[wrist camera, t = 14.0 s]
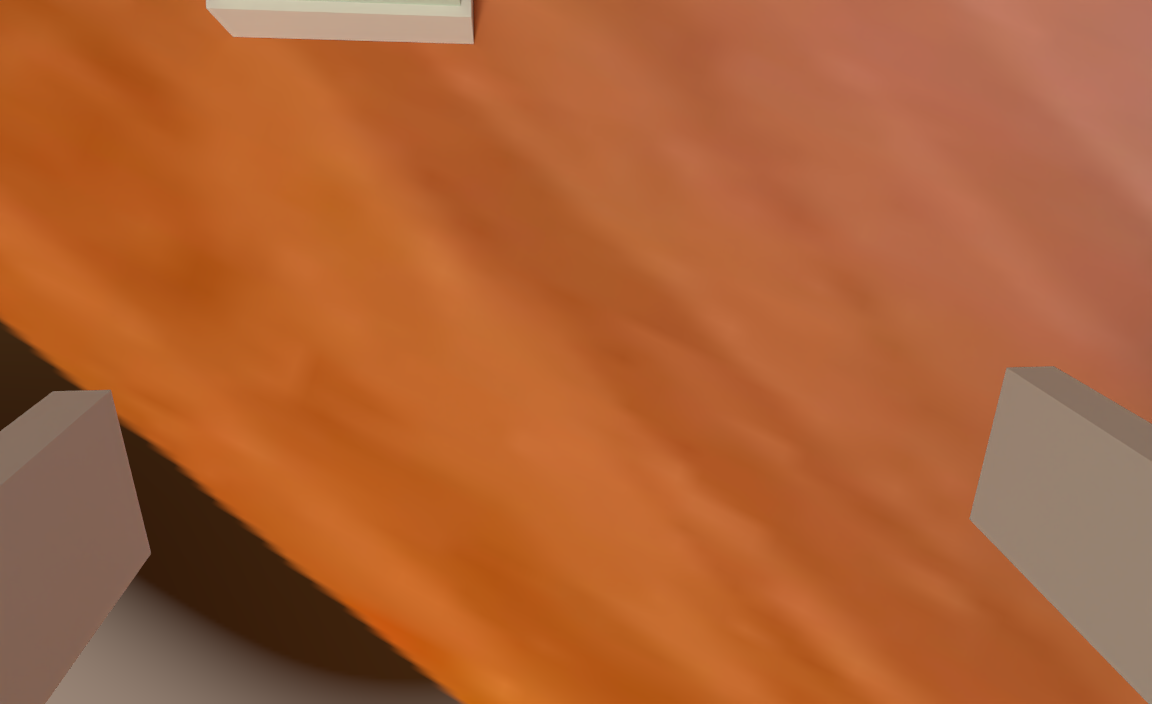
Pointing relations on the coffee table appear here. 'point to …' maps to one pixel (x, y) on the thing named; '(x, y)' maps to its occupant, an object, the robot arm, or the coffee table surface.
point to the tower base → (348, 19)
